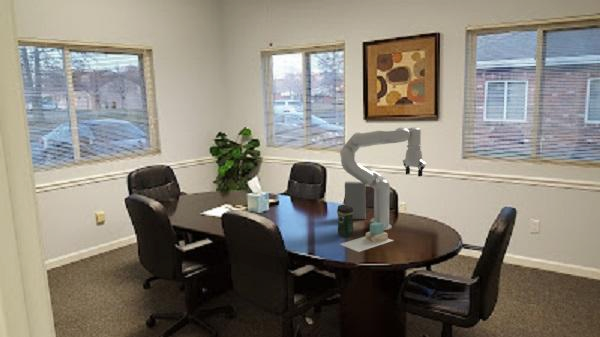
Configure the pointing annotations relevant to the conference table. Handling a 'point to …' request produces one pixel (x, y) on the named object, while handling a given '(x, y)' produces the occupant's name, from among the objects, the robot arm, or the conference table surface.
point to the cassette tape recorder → (356, 198)
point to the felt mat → (362, 244)
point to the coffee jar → (345, 221)
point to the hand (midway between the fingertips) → (413, 175)
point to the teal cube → (376, 228)
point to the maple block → (376, 237)
